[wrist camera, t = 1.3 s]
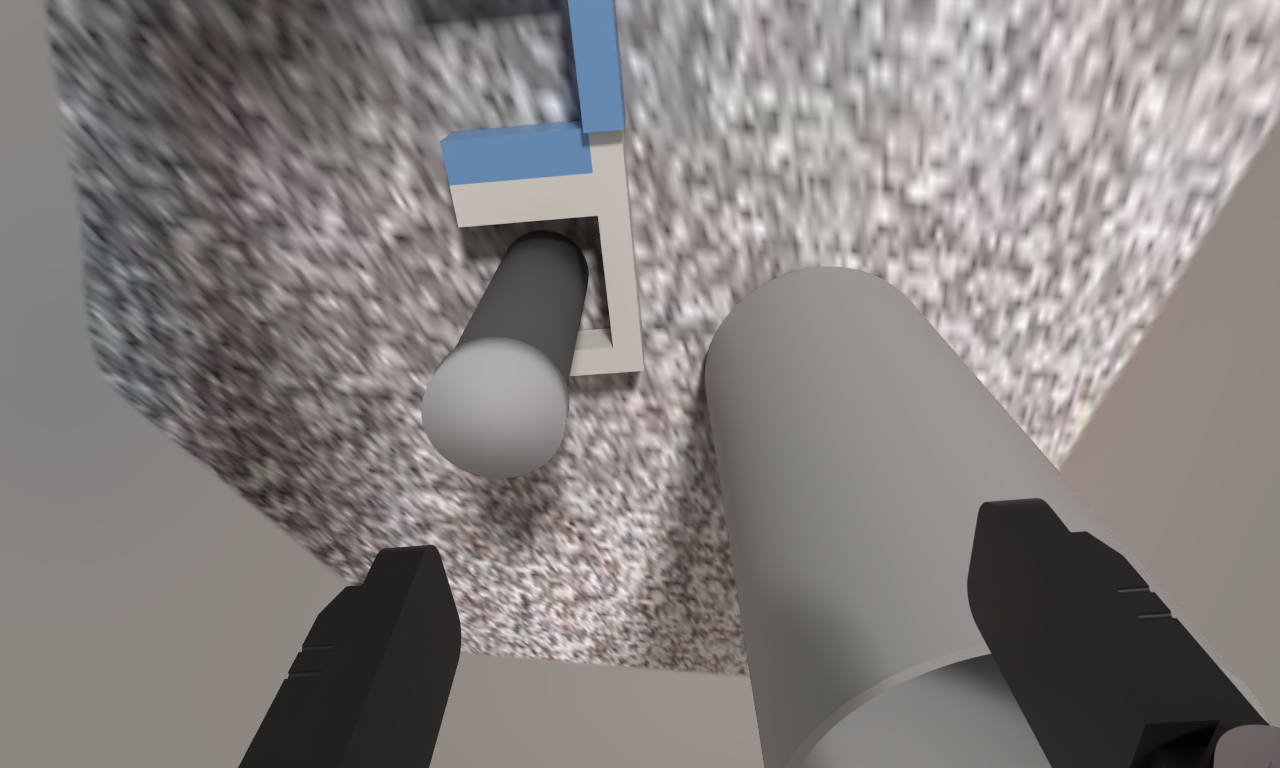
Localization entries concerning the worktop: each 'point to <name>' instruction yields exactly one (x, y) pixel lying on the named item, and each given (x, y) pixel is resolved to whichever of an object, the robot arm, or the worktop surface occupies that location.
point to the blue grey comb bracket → (566, 182)
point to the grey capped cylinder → (512, 363)
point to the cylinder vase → (871, 527)
